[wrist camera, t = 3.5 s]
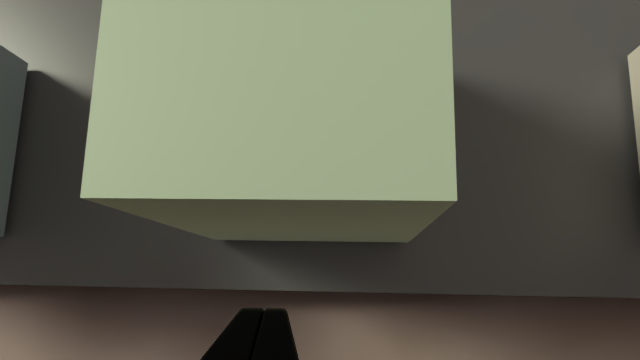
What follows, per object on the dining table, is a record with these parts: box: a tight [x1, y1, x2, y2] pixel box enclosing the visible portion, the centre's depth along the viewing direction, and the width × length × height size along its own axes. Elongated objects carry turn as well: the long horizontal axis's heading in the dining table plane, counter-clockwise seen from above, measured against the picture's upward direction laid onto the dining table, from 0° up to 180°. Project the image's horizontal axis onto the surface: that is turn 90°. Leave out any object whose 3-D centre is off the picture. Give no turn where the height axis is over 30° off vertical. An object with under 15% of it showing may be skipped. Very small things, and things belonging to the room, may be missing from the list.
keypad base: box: [0, 0, 640, 298], centre depth 18 cm, size 12×33×2 cm, turn 89°
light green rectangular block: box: [80, 0, 457, 243], centre depth 13 cm, size 6×6×8 cm
